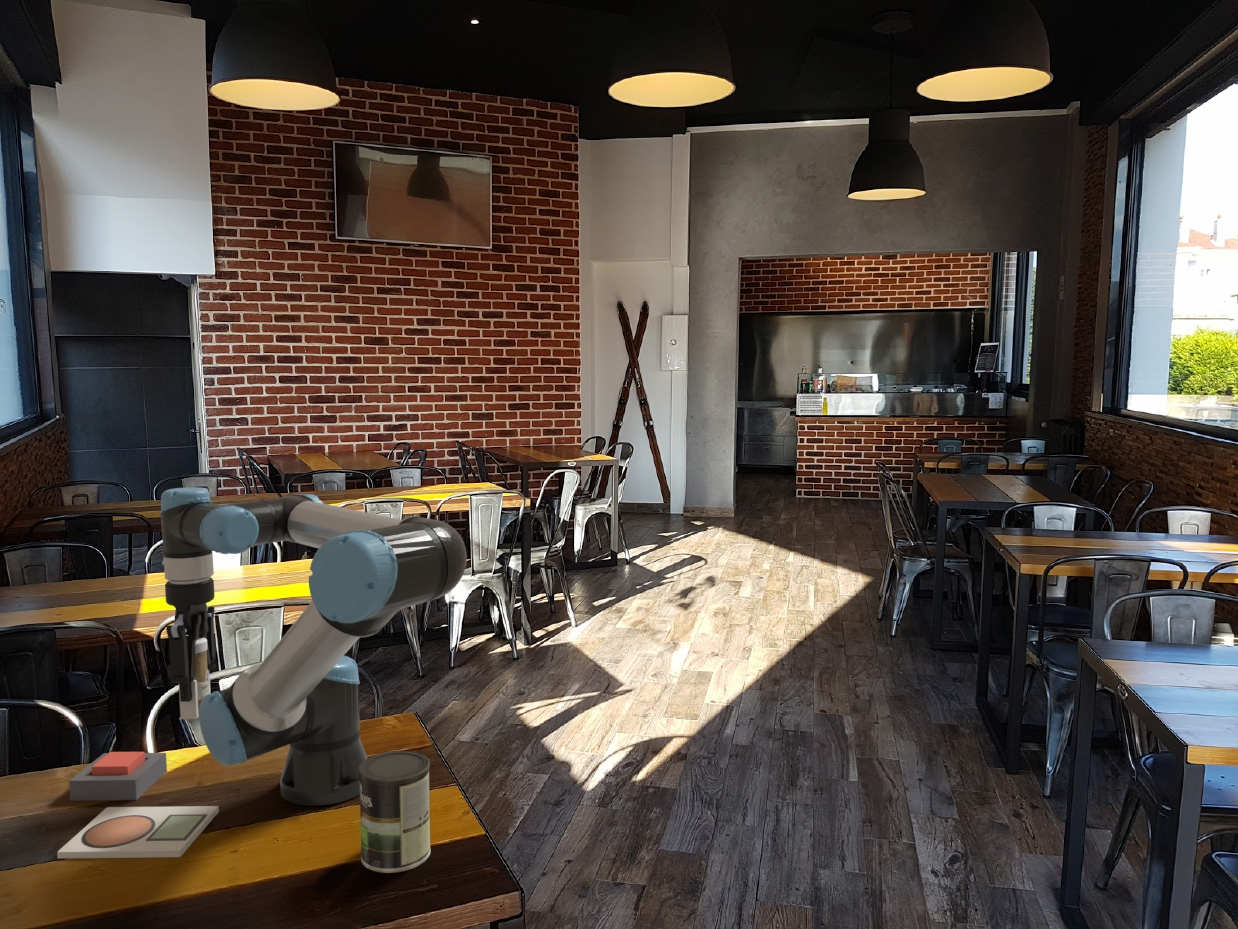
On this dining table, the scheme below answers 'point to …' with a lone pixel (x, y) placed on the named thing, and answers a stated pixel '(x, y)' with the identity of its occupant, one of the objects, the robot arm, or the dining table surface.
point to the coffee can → (394, 811)
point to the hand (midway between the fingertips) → (196, 712)
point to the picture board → (139, 832)
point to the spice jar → (201, 670)
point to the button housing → (118, 781)
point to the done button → (118, 763)
